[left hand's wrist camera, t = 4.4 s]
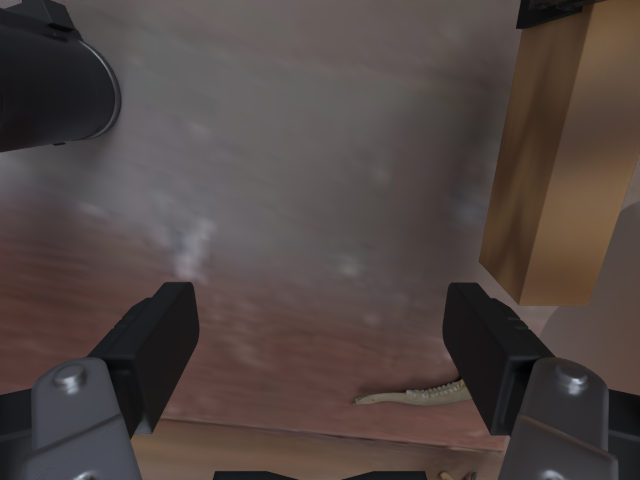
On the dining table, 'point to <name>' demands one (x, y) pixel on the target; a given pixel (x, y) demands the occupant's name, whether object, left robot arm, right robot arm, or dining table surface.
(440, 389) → the jawbone
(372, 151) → the dining table surface
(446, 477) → the lion figurine
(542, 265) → the bar
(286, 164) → the dining table surface
